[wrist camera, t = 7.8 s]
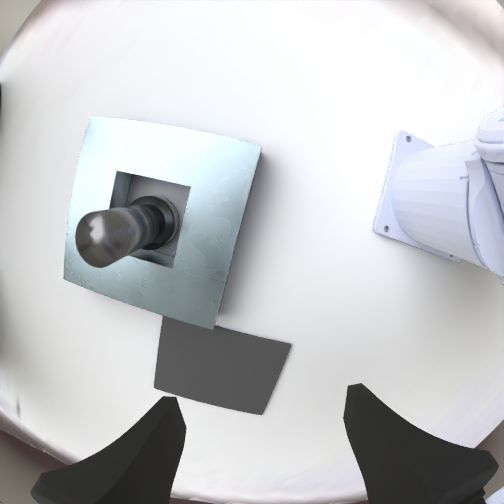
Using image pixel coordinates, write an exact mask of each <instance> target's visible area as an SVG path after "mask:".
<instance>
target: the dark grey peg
mask: <svg viewBox="0 0 504 504" xmlns="http://www.w3.org/2000/svg"><path fill="white" fill-rule="evenodd" d="M178 226H179V217H178V213H177V210H176V208H175V207H174V205H173V204H172V203H171V202H170V201H169V200H168V199H166V198H164V197H161V196H144V197H140V198H138V199H136V200H135V201H133V202H132V203H131V204H130V205H129V206H126V207H119V208H113V209H106V210H100V211H94V212H89V213H87V214H86V215H84V216H83V217H82V218H81V219H80V221H79V223H78V225H77V228H76V232H75V243H76V247H77V250H78V252H79V254H80V256H81V257H82V259H83V260H84V261H85V262H86V263H87V264H89V265H90V266H92V267H95V268H104V267H107V266H109V265H111V264H113V263H114V262H116V261H118V260H120V259H122V258H124V257H126V256H128V255H129V254H131V253H133V252H135V251H137V250H139V249H143V250H155V249H157V248H159V247H161V246H163V245H165V244H166V243H168V242H169V241H171V240H172V239H173V237H174V236H175V234H176V232H177V230H178Z"/></svg>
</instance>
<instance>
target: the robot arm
mask: <svg viewBox="0 0 504 504" xmlns="http://www.w3.org/2000/svg"><path fill="white" fill-rule="evenodd" d="M406 137H408V138H409V142H407V141H406ZM386 225H387V227H388V230H387V231H386V232H384V227H385V226H386ZM373 228H374V231H375V232H376V233H378V234H381V235H384V236H387V237H390V238H393V239H396V240H398V241H401V242H404V243H407V244H409V245H412V246H415V247H417V248H420V249H423V250H425V251H428V252H431V253H433V254H436V255H439V256H441V257H444V258H446V259H449V260H451V261H454V262H456V263H460V262H461V261H462V259H463V260H466V261H468V262H470V263H473V264H475V265H478V266H480V267H482V268H485V269H487V270H489V271H492V272H494V273H496V274H497V275H498V276H499V277H500V279H501V283H502V285H504V106H502V107H501V108H499V109H497V110H495V111H494V112H492V113H491V114H489V115H488V116H487V117H486V118H484V119H483V120H482V122H481V123H480V125H479V128H478V132H477V134H476V136H475V139H474V141H468V142H462V143H456V144H450V145H445V146H439V147H434V146H432V145H431V144H429V143H427V142H425V141H423V140H421V139H420V138H418V137H416V136H414V135H412V134H410V133H408V132H406V131H404V130H400V131H398V132H397V133H396V136H395V141H394V146H393V150H392V155H391V160H390V164H389V168H388V173H387V177H386V181H385V185H384V189H383V193H382V196H381V200H380V204H379V207H378V211H377V215H376V218H375V221H374V226H373ZM450 254H451V256H450ZM343 419H344V423H345V428H346V432H347V436H348V439H349V442H350V444H351V447H352V450H353V452H354V455H355V457H356V460H357V463H358V465H359V468H360V470H361V473H362V476H363V479H364V482H365V487H366V491H367V496H368V500H369V504H504V487H502V488H501V489H500V490H498V491H497V492H496V493H494V494H493V495H491V496H490V497H489V498H488V499H486V500H484V499H483V497H482V496H484V495H485V491H484V490H483V487H484V486H485V485H486V484H487V483H488V481H489V480H490V479H491V478H492V477H493V476H494V474H495V473H496V471H497V469H498V467H499V465H498V463H497V462H496V460H495V459H494V457H493V456H492V455H491V453H490V452H489V451H485V450H478V449H473V448H468V447H464V446H460V445H457V444H453V443H450V442H448V441H445V440H442V439H440V438H438V437H435V436H433V435H431V434H429V433H427V432H425V431H423V430H421V429H419V428H418V427H416V426H414V425H413V424H411V423H409V422H408V421H406V420H405V419H404V418H402V417H401V416H399V415H398V414H397V413H395V412H394V411H393V410H392V409H390V408H389V407H388V406H387V405H386V404H384V403H383V402H382V401H381V400H380V399H379V398H377V397H376V396H375V395H374V394H373V393H372V392H371V391H370V390H369V389H368V388H366V387H365V386H364V385H363V384H362V383H360V384H355V385H350V386H348V389H347V397H346V404H345V410H344V417H343ZM185 435H186V425H185V422H184V419H183V416H182V413H181V410H180V407H179V404H178V401H177V398H176V397H168V396H163V397H162V398H161V399H160V400H159V401H158V402H157V403H156V404H155V405H154V406H153V407H152V408H151V409H150V410H149V411H148V412H147V413H146V414H145V415H144V416H143V417H142V418H141V419H140V420H139V421H138V422H137V423H136V424H135V425H134V426H132V427H131V428H130V429H129V430H128V431H127V432H125V433H124V434H123V435H122V436H121V437H120V438H118V439H117V440H116V441H114V442H113V443H111V444H110V445H109V446H107V447H105V448H104V449H102V450H101V451H99V452H97V453H95V454H94V455H92V456H90V457H88V458H86V459H84V460H82V461H80V462H77V463H75V464H72V465H70V466H67V467H64V468H61V469H57V470H53V471H49V472H45V473H42V474H41V475H40V477H39V478H38V480H37V482H36V483H35V485H34V486H33V488H32V490H31V495H32V497H33V498H34V499H35V500H36V501H37V502H38V503H39V504H169V500H170V494H171V489H172V485H173V481H174V478H175V475H176V471H177V468H178V465H179V462H180V458H181V455H182V451H183V448H184V442H185Z"/></svg>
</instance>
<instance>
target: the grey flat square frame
mask: <svg viewBox="0 0 504 504" xmlns="http://www.w3.org/2000/svg"><path fill="white" fill-rule="evenodd" d="M261 148H262V146H261V145H258V144H254V143H250V142H246V141H242V140H238V139H233V138H229V137H225V136H220V135H216V134H211V133H206V132H201V131H196V130H191V129H186V128H180V127H175V126H169V125H163V124H156V123H150V122H143V121H135V120H127V119H119V118H109V117H99V116H90V119H89V122H88V125H87V129H86V132H85V136H84V140H83V144H82V148H81V152H80V156H79V160H78V165H77V170H76V174H75V179H74V185H73V190H72V196H71V203H70V209H69V217H68V225H67V234H66V245H65V258H64V279H65V280H67V281H69V282H72V283H74V284H77V285H79V286H82V287H84V288H87V289H89V290H92V291H95V292H97V293H100V294H102V295H105V296H108V297H111V298H113V299H116V300H119V301H122V302H124V303H127V304H130V305H133V306H136V307H139V308H142V309H145V310H148V311H151V312H154V313H157V314H160V315H163V316H167V317H170V318H173V319H176V320H180V321H183V322H186V323H190V324H193V325H197V326H200V327H204V328H208V329H211V330H213V328H214V325H215V321H216V318H217V315H218V311H219V307H220V303H221V299H222V295H223V291H224V287H225V284H226V280H227V276H228V272H229V268H230V264H231V260H232V257H233V253H234V249H235V245H236V241H237V238H238V234H239V230H240V226H241V223H242V219H243V215H244V212H245V208H246V204H247V200H248V197H249V193H250V190H251V186H252V182H253V179H254V175H255V171H256V168H257V164H258V161H259V157H260V154H261ZM132 174H136V175H141V176H145V177H150V178H155V179H159V180H164V181H168V182H172V183H177V184H181V185H185V186H189V187H191V189H190V193H189V197H188V201H187V205H186V209H185V213H184V218H183V222H182V226H181V231H180V235H179V240H178V245H177V250H176V254H175V257H172V256H168V255H165V254H161V253H158V252H154V251H151V250H143V249H139V250H137V251H135V252H133V253H131V254H129V255H128V256H126V257H124V258H122V259H120V260H118V261H116V262H114V263H113V264H111V265H109V266H107V267H104V268H95V267H92V266H90V265H89V264H87V263H86V262H85V261H84V260H83V259H82V257H81V256H80V254H79V252H78V250H77V247H76V243H75V232H76V228H77V225H78V223H79V221H80V219H81V218H82V217H83V216H84V215H86V214H87V213H89V212H94V211H100V210H106V209H113V208H119V207H125V204H126V199H127V194H128V189H129V185H130V180H131V176H132Z"/></svg>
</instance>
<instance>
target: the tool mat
mask: <svg viewBox="0 0 504 504" xmlns="http://www.w3.org/2000/svg"><path fill="white" fill-rule="evenodd" d="M290 347H291V344H289V343H284V342H279V341H275V340H270V339H266V338H262V337H257V336H253V335H249V334H245V333H241V332H237V331H233V330H229V329H225V328H221V327H217V326H214V328H213V330H211V329H208V328H204V327H200V326H197V325H193V324H190V323H186V322H183V321H180V320H176V319H173V318H170V317H167V316H163V320H162V326H161V333H160V340H159V348H158V355H157V363H156V372H155V381H154V388H156V389H159V390H162V391H165V392H168V393H171V394H174V395H178V396H181V397H184V398H188V399H192V400H195V401H199V402H203V403H207V404H211V405H215V406H219V407H223V408H228V409H232V410H237V411H242V412H247V413H252V414H258V415H262V414H263V412H264V409H265V407H266V405H267V403H268V400H269V398H270V396H271V393H272V391H273V389H274V386H275V384H276V382H277V379H278V377H279V374H280V372H281V370H282V367H283V365H284V362H285V360H286V357H287V355H288V352H289V350H290Z"/></svg>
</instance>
